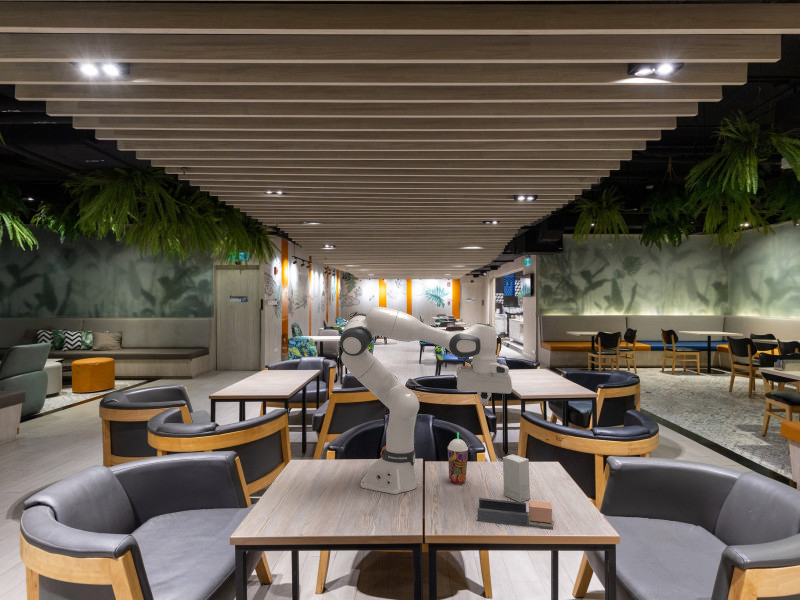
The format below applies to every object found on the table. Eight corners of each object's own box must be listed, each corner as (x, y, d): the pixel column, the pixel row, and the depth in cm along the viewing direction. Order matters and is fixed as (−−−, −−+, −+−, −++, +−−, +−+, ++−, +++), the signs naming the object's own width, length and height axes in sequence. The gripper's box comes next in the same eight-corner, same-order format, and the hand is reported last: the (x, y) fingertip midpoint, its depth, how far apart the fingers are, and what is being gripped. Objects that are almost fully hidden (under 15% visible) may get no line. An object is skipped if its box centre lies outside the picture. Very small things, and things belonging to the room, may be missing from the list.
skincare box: (530, 499, 170) (530, 459, 170) (519, 503, 166) (519, 462, 167) (513, 491, 177) (513, 453, 177) (502, 495, 173) (502, 455, 174)
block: (529, 520, 151) (529, 506, 151) (529, 513, 155) (529, 500, 156) (552, 522, 149) (552, 509, 149) (550, 516, 154) (550, 502, 154)
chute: (477, 520, 152) (477, 509, 152) (479, 508, 162) (479, 497, 162) (553, 529, 147) (553, 518, 147) (550, 515, 156) (550, 505, 156)
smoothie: (454, 486, 181) (455, 436, 181) (443, 479, 188) (443, 430, 188) (471, 483, 185) (472, 433, 185) (460, 476, 192) (460, 428, 192)
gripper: (455, 366, 169) (455, 404, 169) (512, 369, 165) (512, 407, 165) (457, 364, 176) (457, 400, 175) (512, 366, 171) (511, 404, 171)
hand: (484, 404), depth 170 cm, fingers closed
